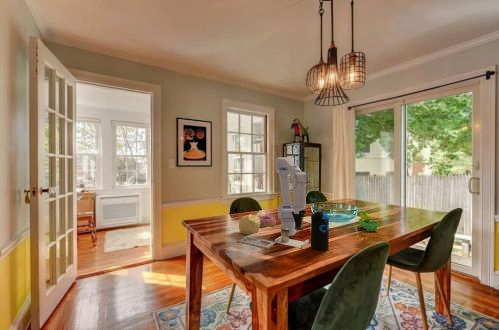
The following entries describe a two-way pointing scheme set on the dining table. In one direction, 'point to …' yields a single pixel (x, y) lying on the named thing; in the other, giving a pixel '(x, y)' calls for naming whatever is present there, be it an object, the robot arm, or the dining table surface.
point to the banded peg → (300, 227)
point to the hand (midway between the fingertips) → (298, 226)
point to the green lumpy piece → (367, 222)
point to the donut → (267, 221)
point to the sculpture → (249, 224)
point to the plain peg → (285, 234)
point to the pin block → (257, 242)
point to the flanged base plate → (292, 242)
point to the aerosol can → (319, 231)
